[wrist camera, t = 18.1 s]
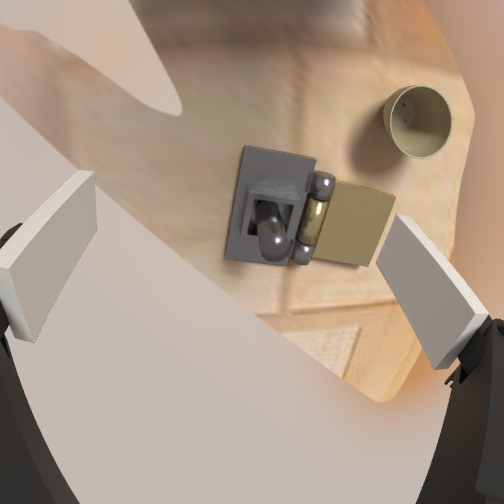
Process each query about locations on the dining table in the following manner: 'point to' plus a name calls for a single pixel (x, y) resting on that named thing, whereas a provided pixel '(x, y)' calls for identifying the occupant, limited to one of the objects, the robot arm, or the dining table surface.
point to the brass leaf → (346, 223)
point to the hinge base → (274, 200)
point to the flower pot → (418, 120)
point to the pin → (271, 232)
